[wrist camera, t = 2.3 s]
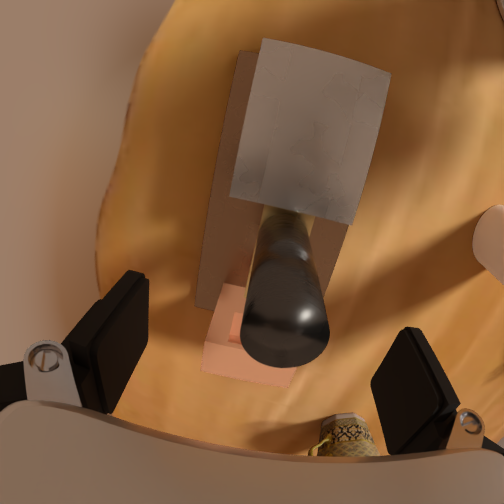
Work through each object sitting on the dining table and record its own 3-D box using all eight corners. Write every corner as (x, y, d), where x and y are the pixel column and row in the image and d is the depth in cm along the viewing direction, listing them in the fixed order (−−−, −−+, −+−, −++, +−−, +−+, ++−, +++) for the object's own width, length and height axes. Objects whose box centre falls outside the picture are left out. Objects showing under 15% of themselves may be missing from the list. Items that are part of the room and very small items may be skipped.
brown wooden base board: (241, 53, 21) (220, 16, 12) (381, 89, 21) (432, 75, 12) (196, 300, 31) (169, 364, 22) (309, 325, 31) (316, 393, 22)
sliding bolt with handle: (296, 62, 16) (320, -18, 5) (341, 75, 16) (422, 19, 5) (247, 275, 23) (221, 407, 12) (286, 284, 23) (288, 419, 12)
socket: (223, 282, 28) (204, 341, 21) (296, 298, 28) (300, 360, 21) (218, 310, 30) (200, 370, 22) (287, 325, 30) (287, 388, 22)
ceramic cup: (385, 418, 37) (397, 471, 28) (335, 445, 41) (340, 495, 32) (335, 388, 35) (344, 453, 26) (281, 420, 38) (279, 479, 29)
